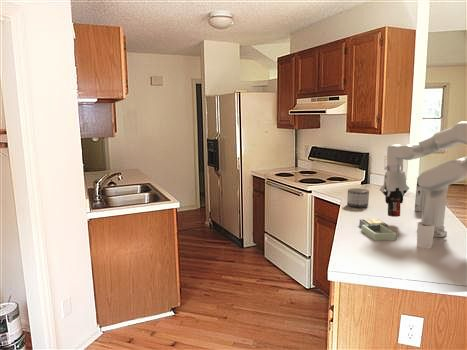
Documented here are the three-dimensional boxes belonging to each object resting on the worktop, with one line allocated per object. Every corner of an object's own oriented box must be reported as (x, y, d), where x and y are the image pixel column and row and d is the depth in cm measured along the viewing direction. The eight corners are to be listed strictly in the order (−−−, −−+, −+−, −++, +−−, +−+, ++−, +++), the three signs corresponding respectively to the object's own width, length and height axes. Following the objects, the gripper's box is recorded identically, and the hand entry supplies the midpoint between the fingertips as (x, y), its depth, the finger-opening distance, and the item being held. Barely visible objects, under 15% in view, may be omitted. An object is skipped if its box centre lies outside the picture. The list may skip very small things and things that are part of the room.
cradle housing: (387, 230, 174) (387, 224, 174) (368, 231, 173) (368, 225, 173) (377, 224, 184) (378, 219, 184) (359, 225, 183) (359, 219, 183)
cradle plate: (383, 225, 175) (384, 223, 175) (369, 226, 174) (369, 223, 174) (376, 221, 182) (377, 218, 182) (363, 222, 182) (363, 219, 181)
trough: (395, 239, 161) (396, 233, 161) (374, 240, 160) (375, 234, 160) (380, 230, 175) (381, 224, 174) (361, 230, 174) (361, 224, 174)
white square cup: (413, 246, 153) (415, 224, 151) (418, 242, 158) (420, 220, 156) (430, 250, 148) (432, 227, 147) (435, 246, 153) (437, 224, 151)
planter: (368, 209, 215) (369, 192, 213) (346, 207, 219) (347, 191, 217) (367, 204, 226) (368, 188, 225) (347, 203, 230) (348, 187, 229)
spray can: (415, 208, 215) (418, 176, 212) (428, 210, 211) (431, 177, 208) (413, 210, 210) (415, 178, 207) (425, 212, 206) (428, 179, 203)
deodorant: (396, 213, 186) (397, 185, 184) (402, 216, 180) (403, 187, 178) (385, 214, 186) (386, 186, 184) (391, 216, 180) (391, 188, 178)
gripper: (382, 170, 175) (381, 205, 178) (415, 168, 177) (414, 203, 179) (375, 168, 183) (374, 202, 185) (406, 167, 184) (405, 200, 186)
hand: (394, 202), depth 182 cm, fingers closed on deodorant, 6 cm apart
